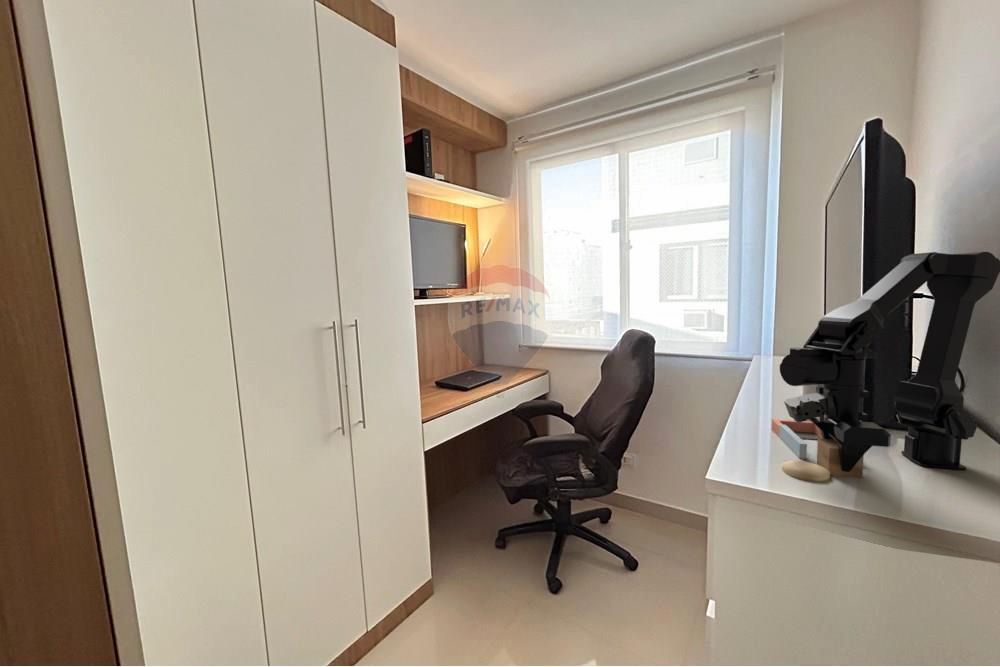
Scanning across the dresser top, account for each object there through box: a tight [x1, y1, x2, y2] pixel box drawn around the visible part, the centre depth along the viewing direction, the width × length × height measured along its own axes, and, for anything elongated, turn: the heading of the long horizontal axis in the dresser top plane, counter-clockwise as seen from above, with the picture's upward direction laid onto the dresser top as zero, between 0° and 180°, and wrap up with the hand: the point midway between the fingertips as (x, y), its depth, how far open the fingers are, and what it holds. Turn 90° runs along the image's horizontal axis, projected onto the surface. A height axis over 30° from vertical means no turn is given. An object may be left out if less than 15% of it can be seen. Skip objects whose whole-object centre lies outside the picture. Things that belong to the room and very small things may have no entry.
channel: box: [778, 425, 808, 460], centre depth 84 cm, size 9×12×3 cm
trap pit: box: [771, 418, 823, 441], centre depth 92 cm, size 9×6×2 cm, turn 71°
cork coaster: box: [781, 460, 831, 483], centre depth 74 cm, size 7×7×1 cm
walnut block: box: [816, 439, 865, 479], centre depth 74 cm, size 5×5×5 cm
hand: (838, 465), depth 74 cm, fingers closed on walnut block, 5 cm apart
